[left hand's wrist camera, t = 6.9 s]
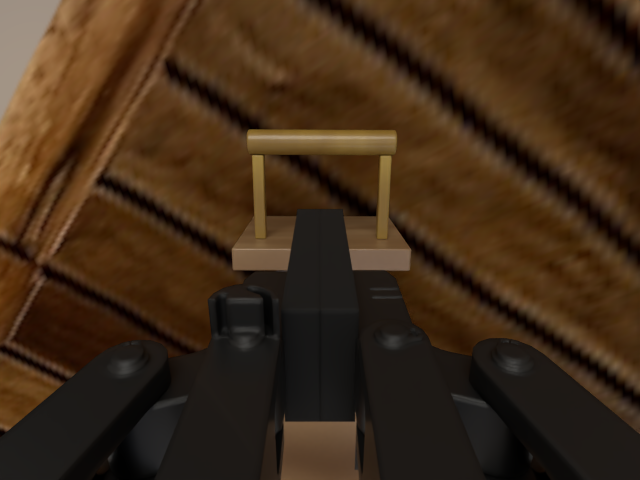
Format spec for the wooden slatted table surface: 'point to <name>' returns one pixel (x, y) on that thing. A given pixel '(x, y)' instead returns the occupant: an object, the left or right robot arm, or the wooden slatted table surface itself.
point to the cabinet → (319, 451)
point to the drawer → (362, 231)
